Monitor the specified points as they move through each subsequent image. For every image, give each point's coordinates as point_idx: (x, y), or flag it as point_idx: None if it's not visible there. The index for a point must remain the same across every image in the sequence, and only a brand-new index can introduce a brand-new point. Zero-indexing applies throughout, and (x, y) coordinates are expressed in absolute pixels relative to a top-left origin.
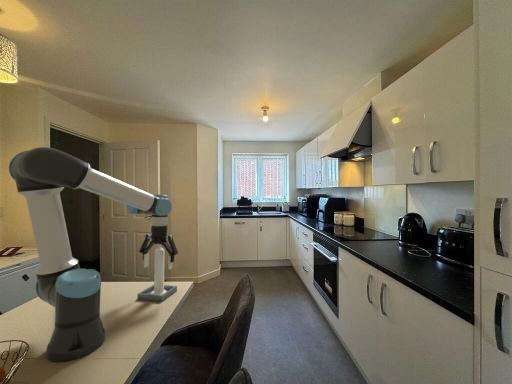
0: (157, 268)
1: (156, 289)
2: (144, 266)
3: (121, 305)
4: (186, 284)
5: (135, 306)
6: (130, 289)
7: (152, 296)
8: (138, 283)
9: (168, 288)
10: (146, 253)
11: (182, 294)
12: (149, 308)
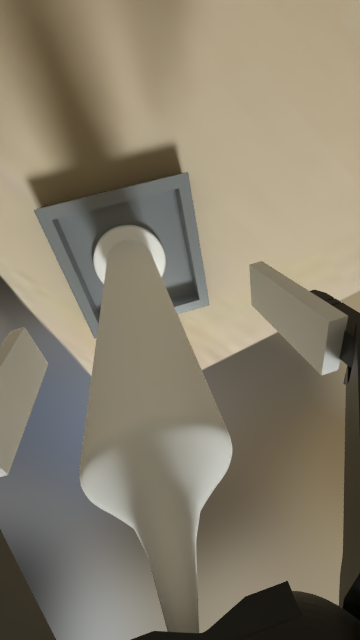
0: (120, 294)
1: (122, 246)
2: (257, 266)
3: (194, 64)
4: None
5: (113, 91)
6: (295, 241)
7: (95, 195)
8: None
9: None
10: (342, 356)
11: (39, 314)
12: (17, 106)
